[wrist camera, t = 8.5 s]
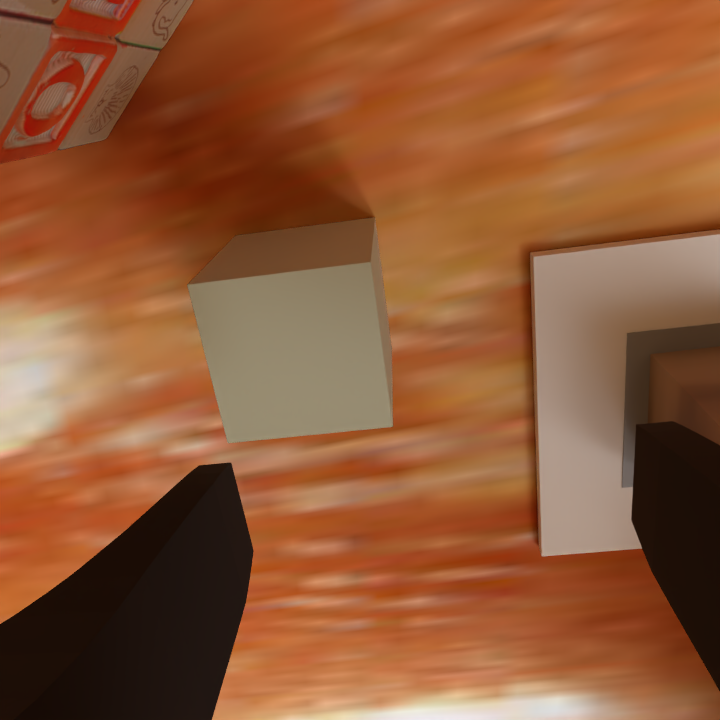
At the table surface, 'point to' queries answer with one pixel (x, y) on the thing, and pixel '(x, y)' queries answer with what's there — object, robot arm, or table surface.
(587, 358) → the white flat square plate
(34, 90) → the stack of blocks
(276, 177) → the table surface
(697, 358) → the walnut block
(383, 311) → the sage block
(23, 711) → the robot arm
